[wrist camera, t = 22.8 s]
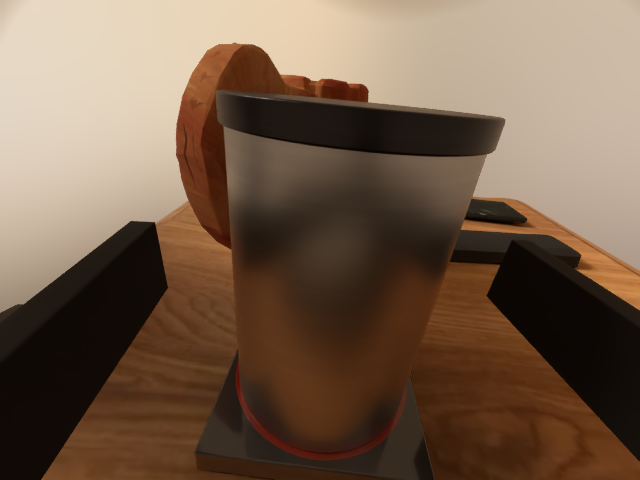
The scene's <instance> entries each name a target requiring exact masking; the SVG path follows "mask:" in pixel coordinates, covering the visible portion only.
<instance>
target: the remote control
mask: <svg viewBox="0 0 640 480" xmlns="http://www.w3.org/2000/svg"><path fill="white" fill-rule="evenodd" d="M511 240H530V241H532V242H533V243H535V244H536V245H538V246H539V247H541V248H543V249H544V250H546V251H547V252H549V253H550V254H552V255H553V256H555V257H557V258H558V259H560V260H561V261H563V262H564V263H566V264H568V265H569V266H571V267H577V266H578V264H579V261H580V258H581V254H580V253H578V252H577V251H575V250H574V249H572V248H571V247H569V246H568V245H566V244H564V243H563V242H561V241H559V240H557V239H556V238H554V237H552V236H549V235H540V234H517V233H501V232H485V231H469V230H460V233H459V236H458V239H457V242H456V244H455V247H454V250H453V253H452V256H451V259H450V261H467V262H486V263H502V260H503V258H504V256H505V254H506V251H507V249H508V247H509V245H510V243H511Z"/></svg>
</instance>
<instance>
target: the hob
mask: <svg viewBox="0 0 640 480" xmlns="http://www.w3.org/2000/svg"><path fill="white" fill-rule="evenodd" d="M194 454H195V459H196V464H197V468H198V469H200V470H208V471H216V472H223V473H231V474H239V475H246V476H254V477H261V478H269V479H277V480H435V476H434V472H433V468H432V464H431V460H430V456H429V451H428V447H427V443H426V439H425V435H424V431H423V427H422V423H421V418H420V414H419V410H418V406H417V402H416V398H415V394H414V389H413V385H412V381H411V377H410V376H409V379H408V382H407V385H406V388H405V391H404V393H403V396H402V399H401V402H400V405H399V408H398V410H397V412H396V414H395V416H394V418H393V420H392V421H391V422H390V424H389V425H388V426H387V428H386V429H385V430H384V431H383V432H382V433H380V434H379V435H378V436H377V437H376V438H374V439H373V440H371V441H370V442H368V443H366V444H364V445H361V446H359V447H357V448H354V449H350V450H347V451H342V452H334V453H319V452H312V451H306V450H302V449H299V448H296V447H293V446H290V445H288V444H286V443H285V442H283V441H281V440H279V439H277V438H276V437H274V436H273V435H272V434H270V433H269V432H268V431H266V430H265V429H264V428H263V427H262V426H261V425H260V424H259V423H258V421H257V420H256V419H255V418H254V416H253V415H252V414H251V412H250V410H249V408H248V406H247V405H246V402H245V400H244V397H243V394H242V390H241V385H240V372H239V356H238V349H237V351H236V354H235V356H234V359H233V361H232V363H231V366H230V368H229V371H228V373H227V375H226V378H225V380H224V383H223V385H222V387H221V390H220V392H219V395H218V397H217V399H216V402H215V404H214V407H213V409H212V411H211V414H210V416H209V419H208V421H207V423H206V426H205V428H204V431H203V433H202V435H201V438H200V440H199V443H198V445H197V447H196V450H195V453H194Z"/></svg>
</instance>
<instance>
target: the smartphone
mask: <svg viewBox="0 0 640 480" xmlns="http://www.w3.org/2000/svg"><path fill="white" fill-rule="evenodd" d="M465 217H469V218H479V219H488V220H495V221H496V222H505V223H514V222H517V223H525V222H526V221H527V218H526V217H524V216H523V215H521V214H520V213H519V212H517V211H516V210H514V209H513V208H511V207H510V206H509V205H507V204H506V203H504V202H496V201H486V200H476V199H471V201H470V204H469V207H468V210H467V213H466V216H465Z"/></svg>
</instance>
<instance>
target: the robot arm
mask: <svg viewBox="0 0 640 480" xmlns="http://www.w3.org/2000/svg"><path fill="white" fill-rule="evenodd" d="M167 288H168V286H167V281H166V276H165V271H164V266H163V261H162V256H161V250H160V245H159V240H158V235H157V230H156V225H155V222H138V221H131V222H129V223H128V224H127V225H125V226H124V227H123V228H122V229H120V230H119V231H118V232H116V233H115V234H114V235H113V236H111V237H110V238H109V239H107V240H106V241H105V242H103V243H102V244H101V245H100V246H98V247H97V248H96V249H94V250H93V251H92V252H91V253H89V254H88V255H87V256H85V257H84V258H83V259H82V260H80V261H79V262H78V263H77V264H75V265H74V266H73V267H71V268H70V269H69V270H67V271H66V272H65V273H64V274H62V275H61V276H60V277H59V278H57V279H56V280H55V281H53V282H52V283H51V284H49V285H48V286H47V287H46V288H44V289H43V290H42V291H40V292H39V293H38V294H36V295H35V296H34V297H33V298H31V299H30V300H29V301H27V302H26V303H25V304H24V305H19V304H18V305H15V306H13V307H11V308H9V309H7V310H5V311H3V312H1V313H0V480H41V479H42V477H43V476H44V474H45V473H46V471H47V470H48V468H49V467H50V465H51V464H52V462H53V461H54V459H55V458H56V456H57V455H58V453H59V452H60V450H61V449H62V447H63V446H64V444H65V443H66V441H67V440H68V438H69V437H70V435H71V434H72V432H73V431H74V429H75V428H76V426H77V425H78V423H79V422H80V420H81V418H82V417H83V415H84V414H85V412H86V411H87V409H88V408H89V406H90V405H91V403H92V402H93V400H94V399H95V397H96V396H97V394H98V393H99V391H100V390H101V388H102V387H103V385H104V384H105V382H106V381H107V379H108V378H109V376H110V375H111V373H112V372H113V370H114V369H115V367H116V366H117V364H118V363H119V361H120V360H121V358H122V356H123V355H124V353H125V352H126V350H127V349H128V347H129V346H130V344H131V343H132V341H133V340H134V338H135V337H136V335H137V334H138V332H139V331H140V329H141V328H142V326H143V325H144V323H145V322H146V320H147V319H148V317H149V316H150V314H151V313H152V311H153V310H154V308H155V307H156V305H157V304H158V302H159V301H160V299H161V298H162V296H163V294H164V293H165V291H166V290H167ZM487 297H488V298H489V299H490V300H491V302H492V303H493V304H494V305H495V306H496V307H497V308H498V309H499V310H500V311H501V312H502V313H503V315H504V316H505V317H506V318H507V319H508V320H509V321H510V322H511V323H512V324H513V325H514V326H515V327H516V329H517V330H518V331H519V332H520V333H521V334H522V335H523V336H524V337H525V338H526V339H527V340H528V341H529V343H530V344H531V345H532V346H533V347H534V348H535V349H536V350H537V351H538V352H539V353H540V354H541V356H542V357H543V358H544V359H545V360H546V361H547V362H548V363H549V364H550V365H551V366H552V367H553V368H554V370H555V371H556V372H557V373H558V374H559V375H560V376H561V377H562V378H563V379H564V380H565V381H566V383H567V384H568V385H569V386H570V387H571V388H572V389H573V390H574V391H575V392H576V393H577V394H578V395H579V397H580V398H581V399H582V400H583V401H584V402H585V403H586V404H587V405H588V406H589V407H590V408H591V410H592V411H593V412H594V413H595V414H596V415H597V416H598V417H599V418H600V419H601V420H602V421H603V422H604V424H605V425H606V426H607V427H608V428H609V429H610V430H611V431H612V432H613V433H614V434H615V435H616V437H617V438H618V439H619V440H620V441H621V442H622V443H623V444H624V445H625V446H626V447H627V448H628V449H629V451H630V452H631V453H632V454H633V455H634V456H635V457H636V458H637V459H638V460H639V461H640V310H638V309H636V308H635V307H633V306H632V305H630V304H629V303H627V302H626V301H624V300H622V299H621V298H619V297H618V296H616V295H615V294H613V293H611V292H610V291H608V290H607V289H605V288H604V287H602V286H600V285H599V284H597V283H596V282H594V281H593V280H591V279H590V278H588V277H586V276H585V275H583V274H582V273H580V272H579V271H577V270H575V269H574V268H572V267H571V266H569V265H568V264H566V263H564V262H563V261H561V260H560V259H558V258H557V257H555V256H553V255H552V254H550V253H549V252H547V251H546V250H544V249H543V248H541V247H539V246H538V245H536V244H535V243H533V242H532V241H530V240H511V243H510V245H509V247H508V249H507V251H506V254H505V256H504V258H503V260H502V263H501V265H500V267H499V269H498V271H497V274H496V276H495V278H494V280H493V283H492V285H491V287H490V289H489V291H488V294H487Z"/></svg>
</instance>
